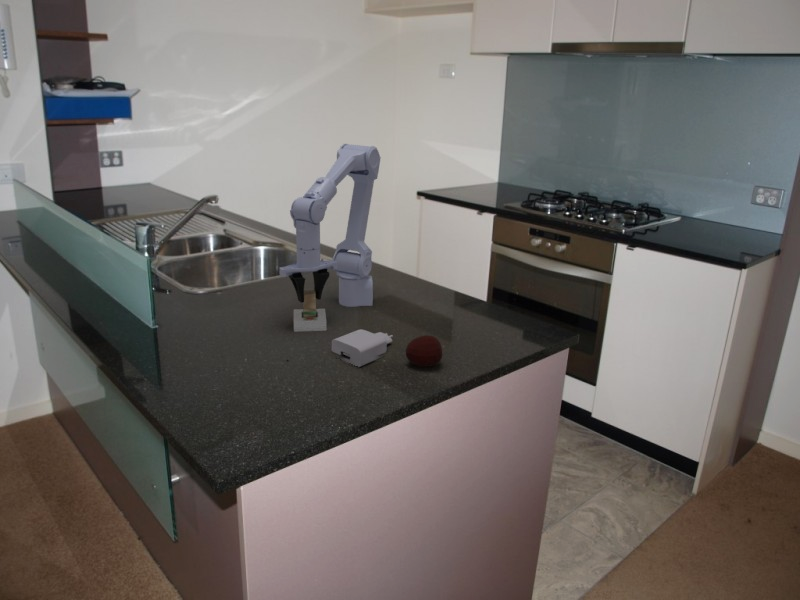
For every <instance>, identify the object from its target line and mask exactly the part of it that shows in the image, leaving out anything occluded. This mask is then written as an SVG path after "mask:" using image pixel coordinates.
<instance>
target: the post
mask: <svg viewBox="0 0 800 600" xmlns="http://www.w3.org/2000/svg"><path fill="white" fill-rule="evenodd" d="M316 303H317V302H316V294H315V290H314V289H313V290H304V302H303V305H302V306H303V307H302V309H303V315H304V318H310V317H316V309H317V307H316V305H317V304H316Z"/></svg>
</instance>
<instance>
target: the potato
mask: <svg viewBox="0 0 800 600" xmlns="http://www.w3.org/2000/svg"><path fill="white" fill-rule="evenodd" d="M405 356H406V358H407V360H408V361H409V362H410V363H412V364H414V365H416V366H418V367H425V368H426V367H432V366H435V365H437V364H439V363H440V362H441V360H442V357H443V347H442V345H441V342H440V340H439V339H438V338H436V337H435V336H433V335H428V334H427V335H421V336H418V337H416V338H414V339H412V340H411V341H410V342H408V344H407V346H406V348H405Z"/></svg>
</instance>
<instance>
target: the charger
mask: <svg viewBox="0 0 800 600" xmlns="http://www.w3.org/2000/svg"><path fill="white" fill-rule="evenodd" d="M393 337H394V336H393V334H391V335H389V334H388V333H387V332H386V333H384V332H381V331H379V332H375V333H373V332H371V331H368V330H365V329H362V328H361V329H357V330H354V331H352V332H350V333H346V334H344V335H342V336H339V337H336V338H334V339H332V340H331V352H333V353H334V354H337V355H339V356H340V357H337V358H338V360H340V359H341V360H340V361H342V360H343V361H342V362H344V361H346V362H345V363H347V362H348V363H347V364H349V363H351V364H353V365H352V366H354V365H355V366H354V367H356V366H358V367H357V368H360V367H363V366H365V365H367V364H369V363H372V362H374V361H377V360H379V359H380V358H383V357H384V355H383V354H385V353H387V351H388V350H387V345H388V344H392V342H393V339H392V338H393ZM342 355H345V356H344V357H341V356H342ZM378 358H379V359H378ZM351 364H350V365H351Z"/></svg>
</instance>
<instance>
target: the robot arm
mask: <svg viewBox="0 0 800 600" xmlns="http://www.w3.org/2000/svg"><path fill="white" fill-rule="evenodd" d="M380 163H381V156H380V152H379V150H378V148H377V147H376V146H374V145H371V146H369V145H358V144H357V145H356V144H349V143H342V144H341V146H340V147H339V148H338V150H337V151H336V161H335V162H334V164H332V166H331V168H330V169H329V171H328V172H327V174H326V176H325V177H324V176H322V177H317V179H316V180H315V181H314V183H313V184H312V186H311V187H310V188H309V189H308V190H307V191H306V193H304V195H303V196H301V197H297V198H296V199H294V200H293V201H292V204H291V207H290V210H289V214H290V217H291V219H292V220H293V227H294V229H295V239H296V240H295V242H296V243H295V244H296V263H293V264H289V265H286V266H281V267H278V269H279V276H280V277H282V278H286V277H289V279H290V281H291V282H292V285H293V287H294V290H295V294H296V297H297V301H298V302H299V303H300V304H302V303H303V302H304V291H305V283H306V282H305V281H306V278H305V277H303V274H308V273H312V276H313V285H314V286H313V287H314V288H313V290H315V294H316V299H317V300H318V301H319V300H321V299H322V295H323V290H324V288H325V285H326V283H327V281H328V280H329V278H330V272H329V270H333V271H334V272H335V273H336V276H338V304H339V305H341V306H343V307H348V308H355V307H361V306H362V307H365V306H366V307H369V306H370V307H371V306H373V300H374V296H373V292H374V286H373V285H374V283H373V276H372V275H370V273H371V271H372V268H373V267H372V266H373V260H372V254H373V251H372V250H371V248H370V247H369V246H368V245H367V244H366V242H365V238H366V232H367V226H368V220H369V214H370V208H371V202H372V198H373V197H372V196H373V189H374V183H375V181H376V180H377V179H378V177H379V176H378V175H379V170H380ZM347 176H348V177H350V178H351V179H352V180H353V182H354V183H353V188H352V189H353V190H352V196H351V202H350V209H349V214H348V221H347V227H346V234H345V238H344V240H343V241H341V242H339V243H338V244H337V245H336V249H335V252H334V254H333V256H332V259H331V260H321V222H323V220H324V219H325V215H326V211H327V208H328V205H329V204H330V202H331V201H332V200H333V198H335V196H336V195H337V193H338V189H337V187H338V185H339V184H340V183H341V182H342V181H343V180H344V179H345V178H346V177H347ZM351 251H352V252H351ZM353 251H354V252H353Z"/></svg>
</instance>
